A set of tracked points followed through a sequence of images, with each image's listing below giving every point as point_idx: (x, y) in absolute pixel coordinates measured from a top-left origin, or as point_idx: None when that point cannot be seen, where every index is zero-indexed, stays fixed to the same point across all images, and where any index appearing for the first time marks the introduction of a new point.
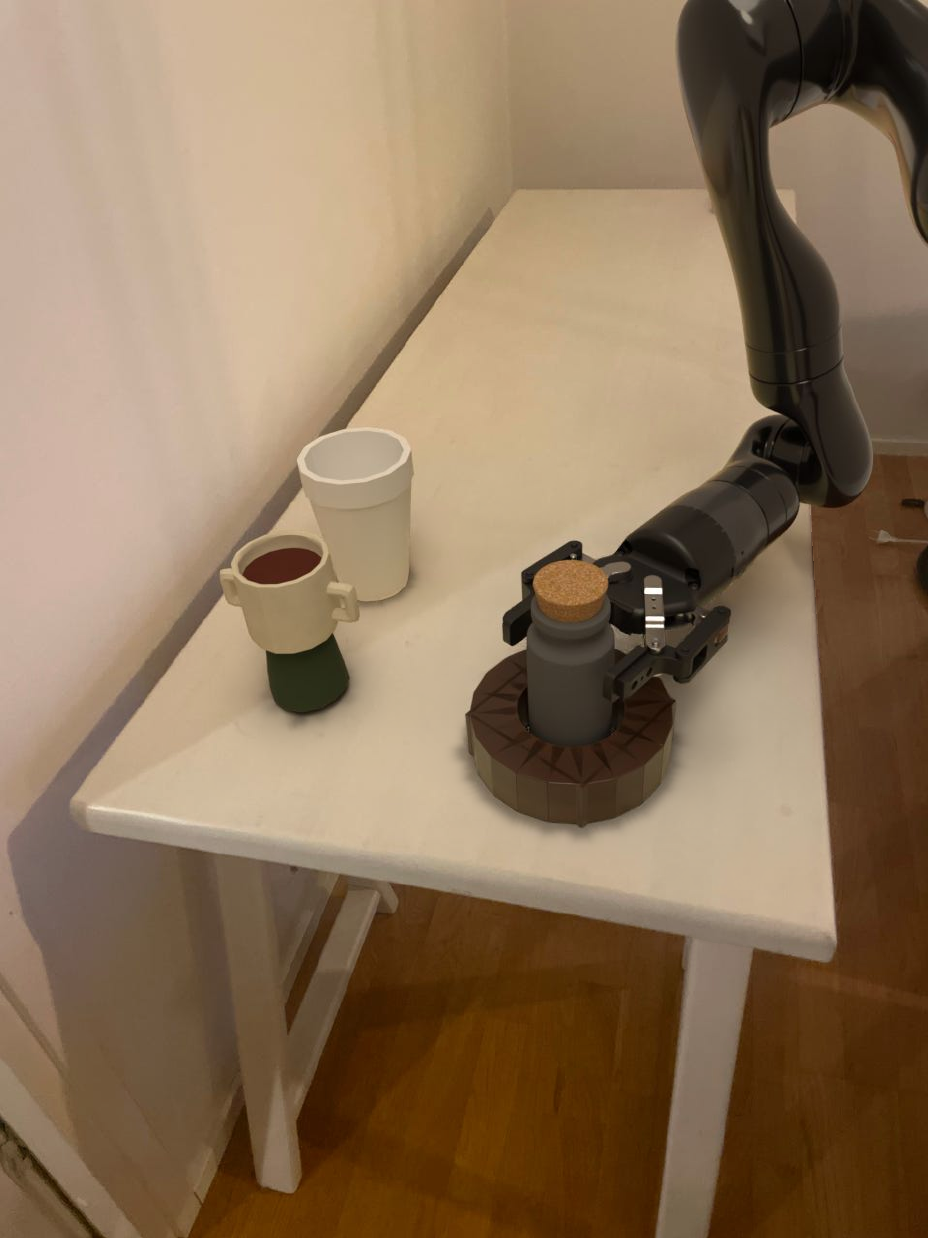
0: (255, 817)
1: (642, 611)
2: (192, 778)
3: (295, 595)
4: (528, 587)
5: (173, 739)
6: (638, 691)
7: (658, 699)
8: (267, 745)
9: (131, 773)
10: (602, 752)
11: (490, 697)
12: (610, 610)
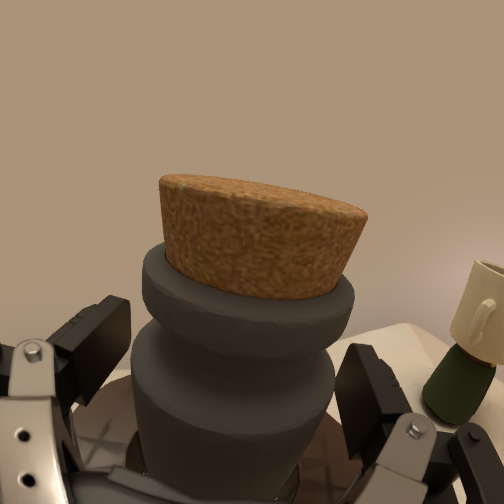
0: (355, 342)
1: (76, 476)
2: (401, 342)
3: (473, 274)
4: (439, 431)
5: (433, 349)
6: None
7: None
8: (407, 370)
9: (417, 333)
10: (134, 408)
11: (320, 430)
12: (143, 278)
